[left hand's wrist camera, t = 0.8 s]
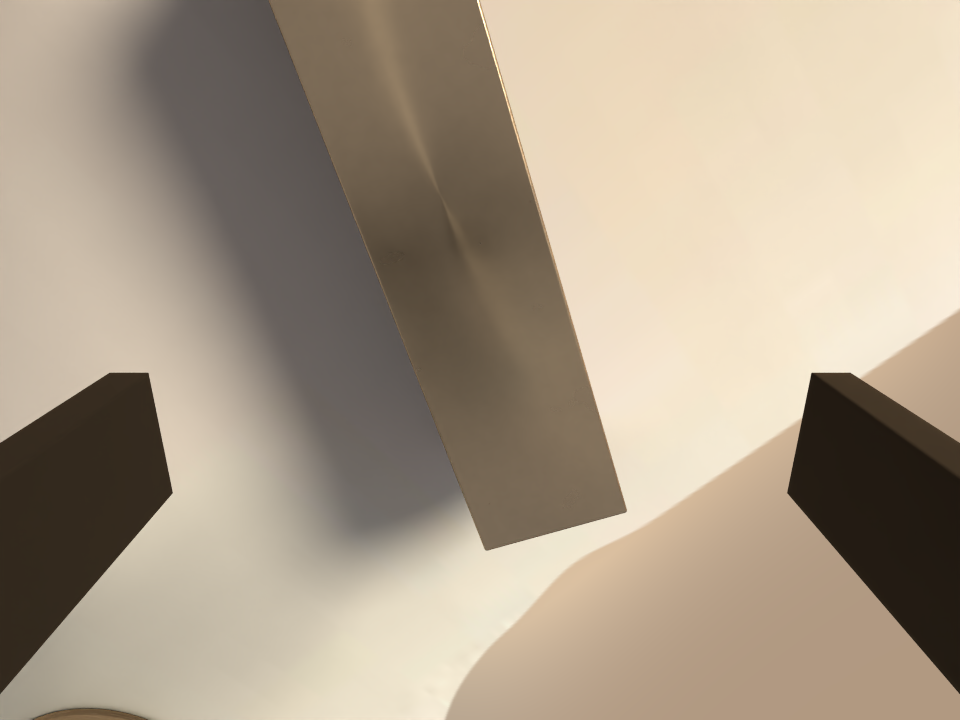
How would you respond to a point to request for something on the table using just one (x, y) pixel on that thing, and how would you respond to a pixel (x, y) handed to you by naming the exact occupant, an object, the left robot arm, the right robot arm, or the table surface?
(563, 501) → the box
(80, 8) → the table surface
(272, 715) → the table surface
